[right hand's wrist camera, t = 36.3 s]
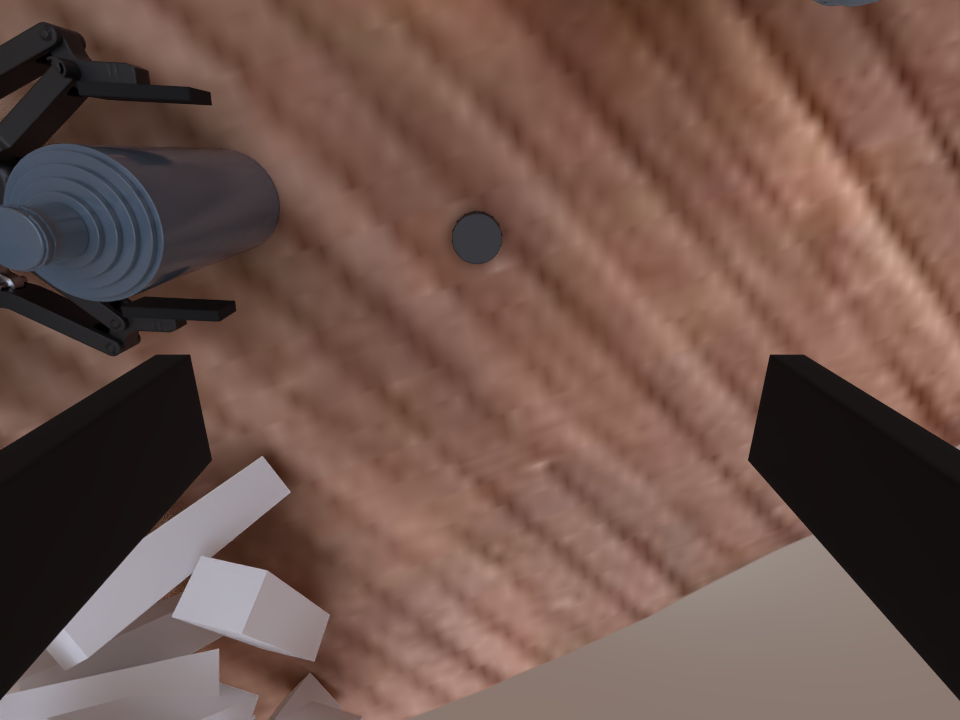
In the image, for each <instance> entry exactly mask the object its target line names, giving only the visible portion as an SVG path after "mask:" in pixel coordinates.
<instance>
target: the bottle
mask: <svg viewBox="0 0 960 720" xmlns="http://www.w3.org/2000/svg"><path fill="white" fill-rule="evenodd" d="M278 217H279V199H278V194H277V191H276V188H275V186H274V183H273V181H272V180H271V178H270V176H269V175H268V174H267V172H266V171H265V170H264V169H263V168H262V167H261V165H259V164H258V163H257V162H256V161H255V160H253V159H252V158H250V157H249V156H247V155H245V154H243V153H240V152H237V151H234V150H229V149H209V148H181V147H153V146H124V145H96V144H68V143H63V144H52V145H47V146H43V147H41V148H38V149H36V150H34V151H32V152H30V153H29V154H27V155H26V156H25V157H24V158H22V159H21V160H20V161H19V162H18V164H17V165H16V166H15V167H14V169H13V171H12V172H11V174H10V176H9V178H8V181H7V184H6V188H5V193H4V202H3V205H0V264H1V265H2V266H4V267H7V268H9V269H13V270H16V271H22V272H29V271H35V272H36V273H37V274H38V275H40V276H41V277H42V278H43V279H45V280H46V281H48V282H49V283H50V284H52V285H53V286H55V287H56V288H58V289H60V290H62V291H64V292H66V293H68V294H70V295H73V296H76V297H79V298H82V299H86V300H91V301H100V302H108V301H117V300H122V299H125V298H128V297H131V296H133V295H136V294H138V293H141V292H143V291H146V290H148V289H151V288H153V287H156V286H159V285H161V284H164V283H166V282H169V281H171V280H174V279H176V278H179V277H181V276H184V275H186V274H189V273H191V272H194V271H196V270H199V269H201V268H204V267H206V266H209V265H211V264H214V263H216V262H219V261H221V260H224V259H226V258H229V257H231V256H234V255H236V254H239V253H241V252H244V251H246V250H249V249H251V248H254V247H256V246H258V245H260V244H261V243H263V242H264V241H265V240H266V239H267V238H269V236H270V235H271V234H272V232H273V231H274V229H275V227H276V224H277V222H278Z"/></svg>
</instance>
